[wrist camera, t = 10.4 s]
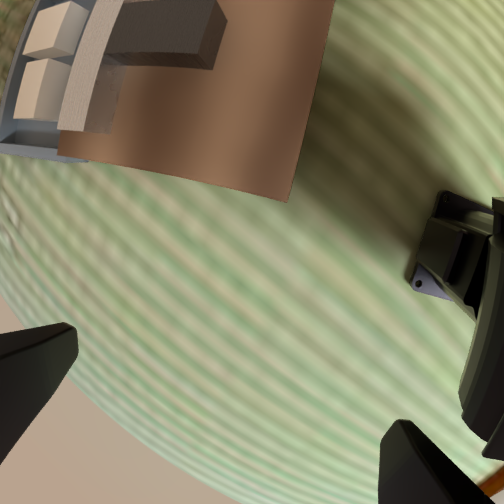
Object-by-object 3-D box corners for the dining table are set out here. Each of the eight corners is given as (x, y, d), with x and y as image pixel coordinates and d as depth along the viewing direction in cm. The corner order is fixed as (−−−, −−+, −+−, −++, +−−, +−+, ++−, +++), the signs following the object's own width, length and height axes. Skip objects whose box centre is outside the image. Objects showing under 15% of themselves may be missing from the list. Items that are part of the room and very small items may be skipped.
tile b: (48, 58, 12) (26, 62, 13) (33, 118, 13) (13, 118, 14) (84, 70, 16) (62, 72, 16) (71, 122, 17) (50, 121, 18)
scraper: (137, -27, 11) (246, -32, 11) (84, 131, 14) (193, 146, 14) (119, -44, 9) (238, -56, 8) (56, 129, 12) (173, 143, 11)
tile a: (38, 11, 13) (56, 19, 15) (22, 54, 14) (42, 60, 16) (71, 0, 12) (89, 11, 15) (53, 46, 14) (73, 54, 16)
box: (143, -21, 14) (128, -35, 12) (88, 162, 18) (65, 162, 16) (56, -1, 15) (40, -9, 13) (12, 151, 19) (-8, 152, 17)
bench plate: (335, -5, 13) (341, -34, 10) (288, 196, 17) (286, 202, 14) (141, -16, 14) (119, -37, 11) (89, 155, 18) (56, 155, 15)
